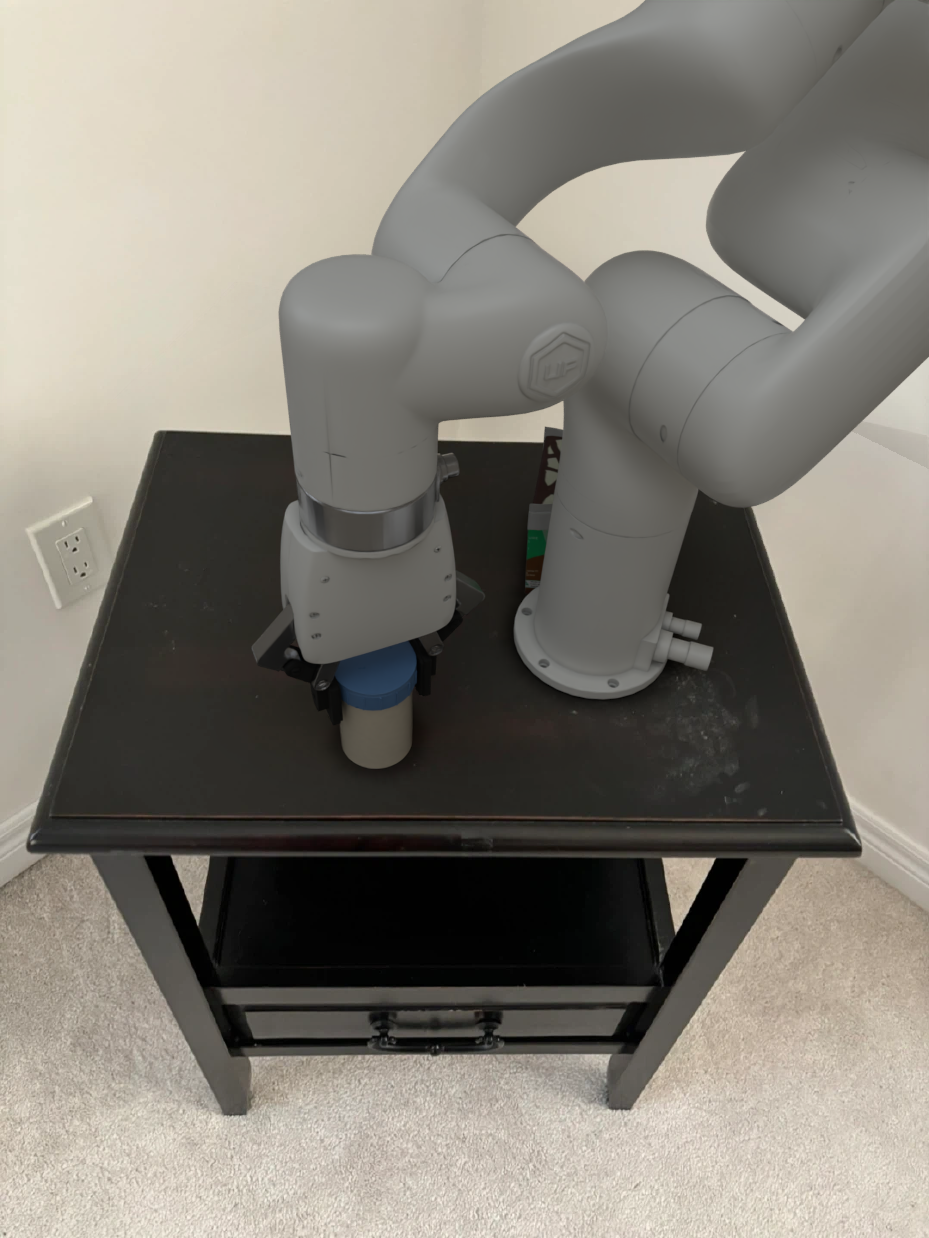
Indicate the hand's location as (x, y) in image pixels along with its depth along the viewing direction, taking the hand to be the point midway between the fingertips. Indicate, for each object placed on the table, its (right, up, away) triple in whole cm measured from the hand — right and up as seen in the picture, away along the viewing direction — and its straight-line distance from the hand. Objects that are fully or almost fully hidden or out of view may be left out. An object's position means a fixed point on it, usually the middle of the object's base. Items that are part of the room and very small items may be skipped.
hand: (374, 692), depth 64 cm
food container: (+15, +10, +18) cm, 25 cm away
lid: (0, +2, -2) cm, 3 cm away
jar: (0, -4, +4) cm, 6 cm away
